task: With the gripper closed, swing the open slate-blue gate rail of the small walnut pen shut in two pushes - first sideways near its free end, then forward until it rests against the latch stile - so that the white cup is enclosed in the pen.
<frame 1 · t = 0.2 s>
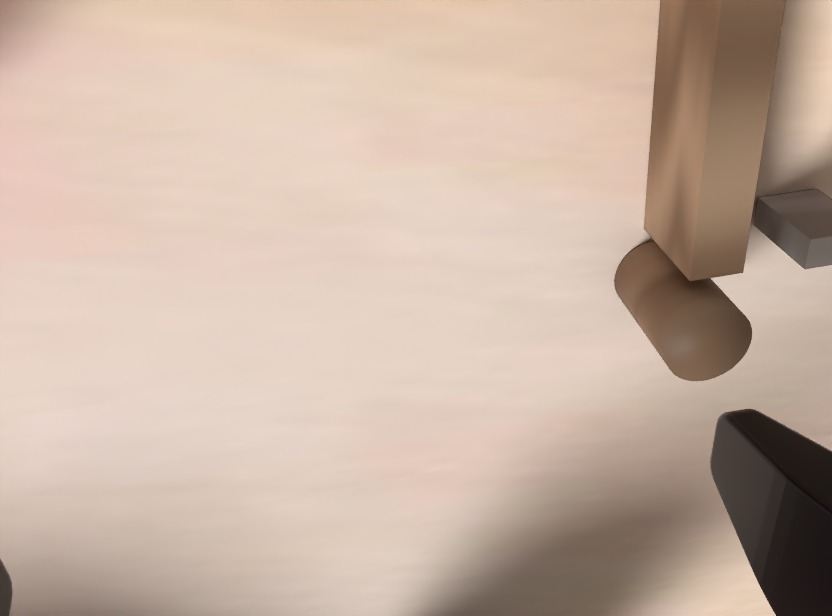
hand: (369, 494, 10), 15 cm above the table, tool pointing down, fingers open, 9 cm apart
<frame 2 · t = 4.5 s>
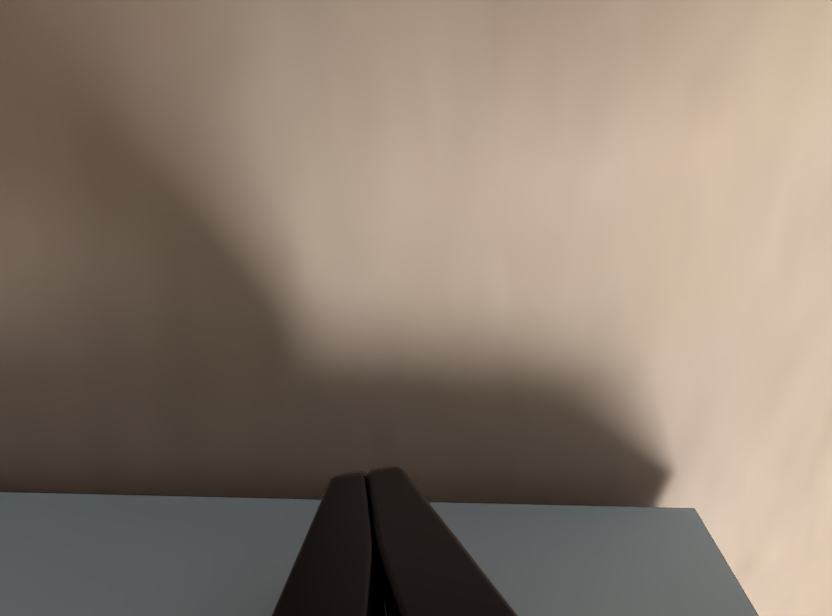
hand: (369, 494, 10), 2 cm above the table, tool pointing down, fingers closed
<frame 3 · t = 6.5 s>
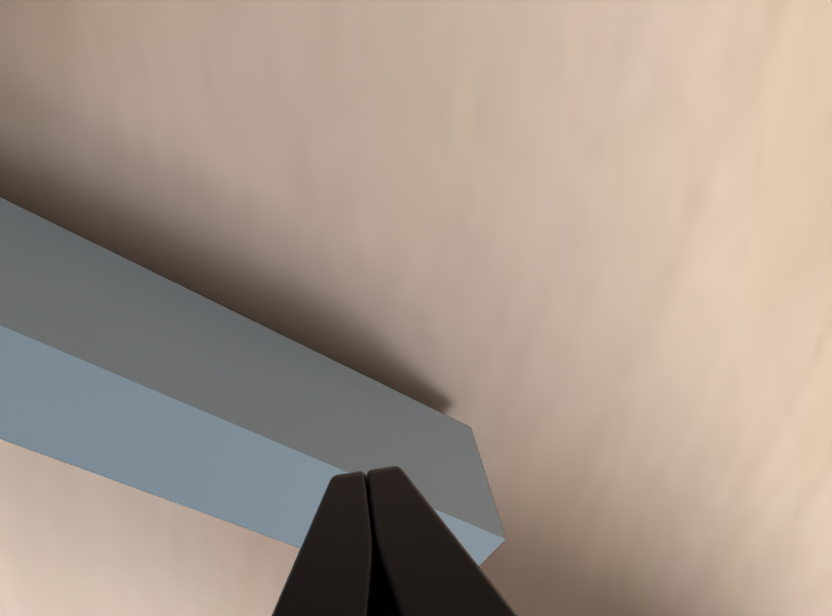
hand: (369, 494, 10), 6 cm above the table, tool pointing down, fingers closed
gate: (115, 361, 12), point 2 cm above the table, hinge at 49.4°
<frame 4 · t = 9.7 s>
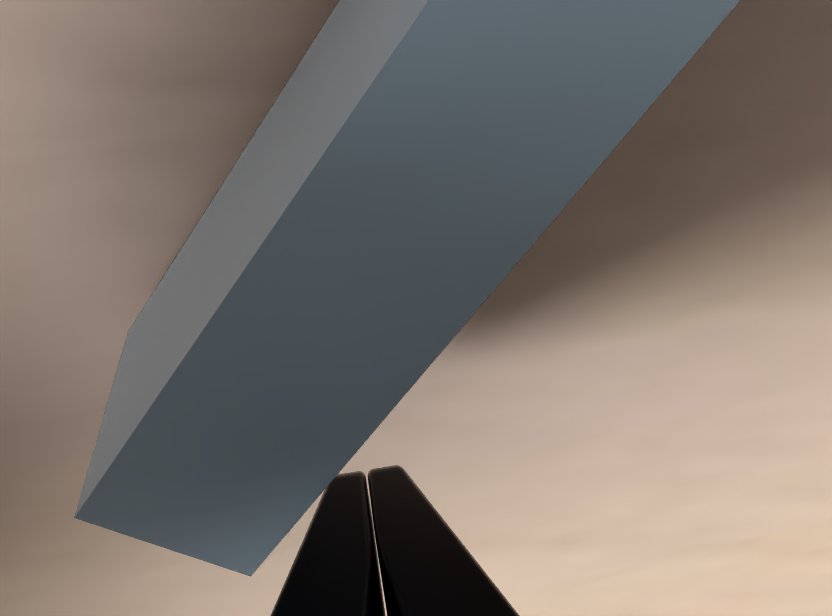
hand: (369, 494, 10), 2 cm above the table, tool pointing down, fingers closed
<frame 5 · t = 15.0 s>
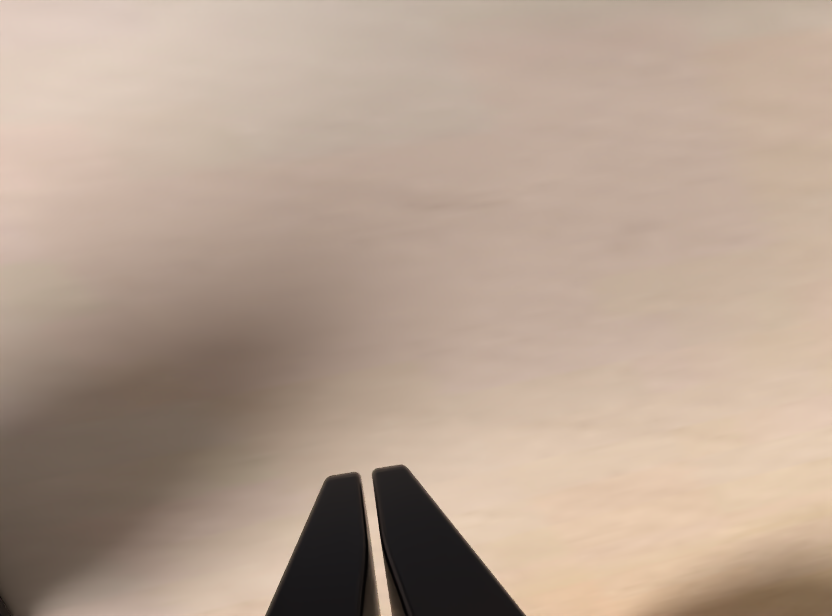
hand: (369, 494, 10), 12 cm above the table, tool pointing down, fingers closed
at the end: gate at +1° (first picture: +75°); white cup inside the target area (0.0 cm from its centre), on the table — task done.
